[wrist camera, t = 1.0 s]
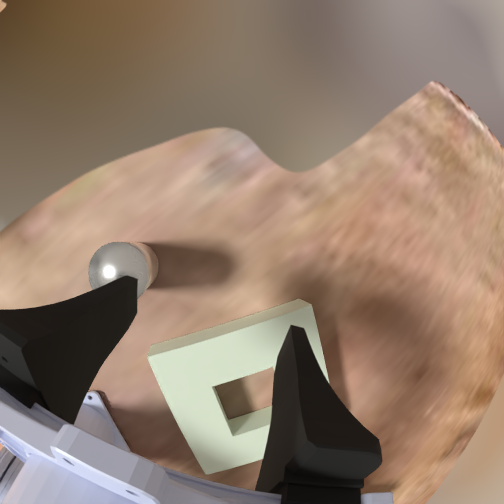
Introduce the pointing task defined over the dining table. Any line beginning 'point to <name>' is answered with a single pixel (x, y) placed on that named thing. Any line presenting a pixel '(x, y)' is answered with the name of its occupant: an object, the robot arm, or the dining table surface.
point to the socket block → (226, 380)
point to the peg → (124, 264)
